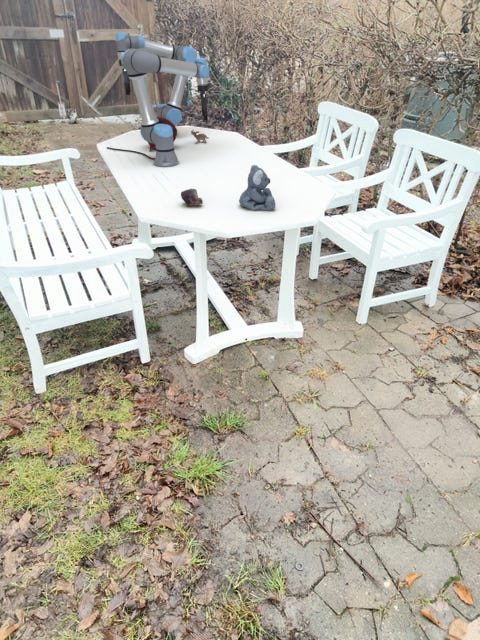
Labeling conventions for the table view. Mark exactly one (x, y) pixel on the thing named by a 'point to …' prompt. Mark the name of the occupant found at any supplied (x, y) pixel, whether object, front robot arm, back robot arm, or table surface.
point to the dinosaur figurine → (199, 136)
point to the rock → (191, 197)
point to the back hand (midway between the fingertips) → (128, 93)
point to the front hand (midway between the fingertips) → (204, 118)
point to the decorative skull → (166, 121)
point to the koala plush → (257, 191)
